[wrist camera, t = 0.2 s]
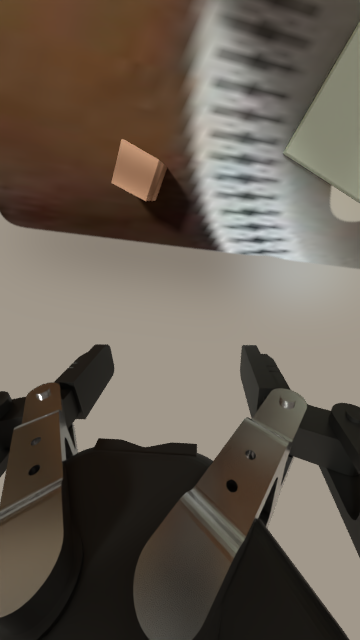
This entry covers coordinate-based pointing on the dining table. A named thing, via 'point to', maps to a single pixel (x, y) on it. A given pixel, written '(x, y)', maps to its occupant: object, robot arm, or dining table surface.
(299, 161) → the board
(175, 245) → the dining table surface
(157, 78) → the dining table surface
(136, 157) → the terracotta block
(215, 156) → the dining table surface
